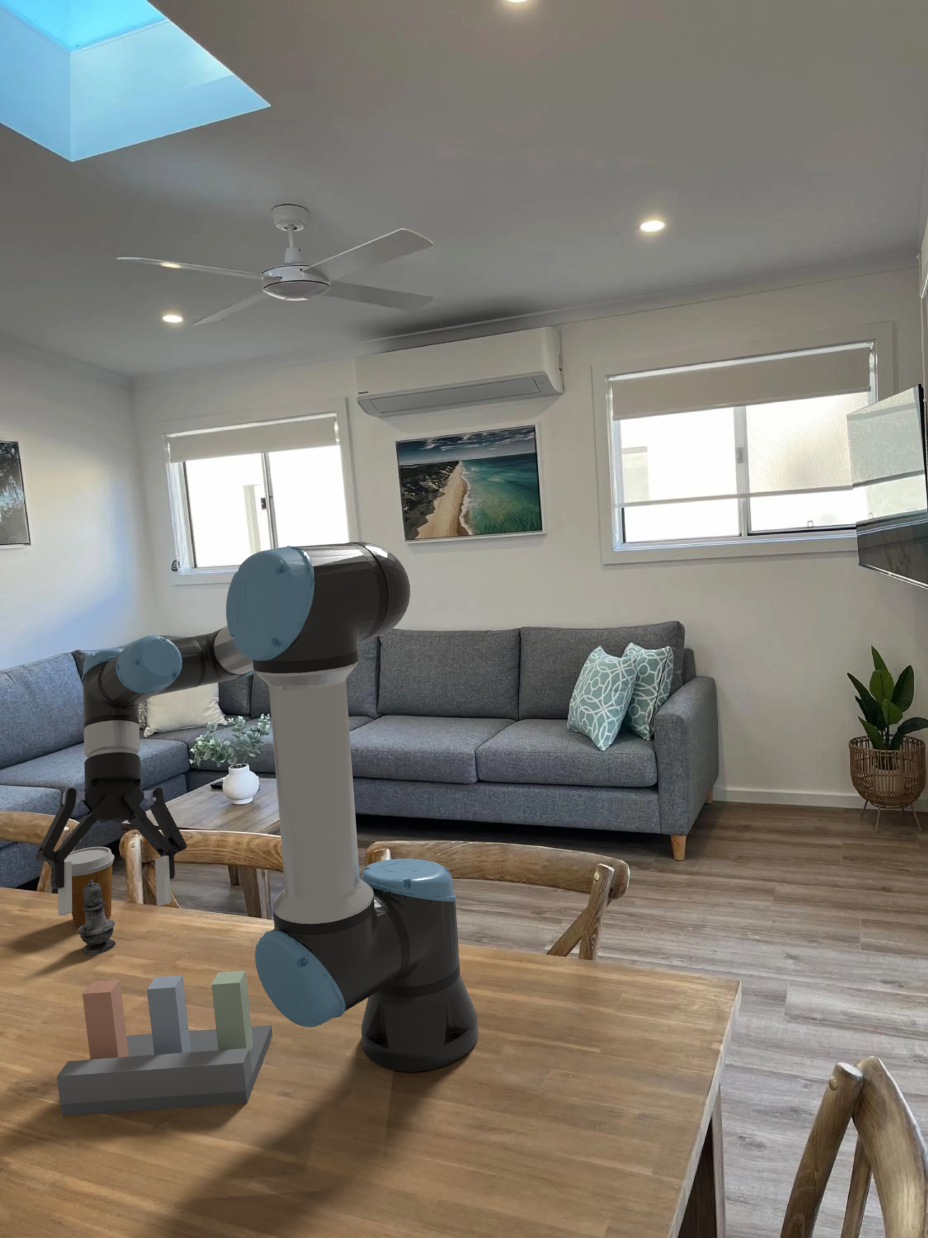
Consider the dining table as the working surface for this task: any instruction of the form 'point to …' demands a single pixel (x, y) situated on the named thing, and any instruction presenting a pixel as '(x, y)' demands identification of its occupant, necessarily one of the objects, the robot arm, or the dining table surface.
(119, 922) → the dining table surface
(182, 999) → the blue-grey upright block
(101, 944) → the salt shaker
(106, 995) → the salmon pink block
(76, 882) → the disposable coffee cup
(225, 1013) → the green rectangular block
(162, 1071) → the dark grey block holder
